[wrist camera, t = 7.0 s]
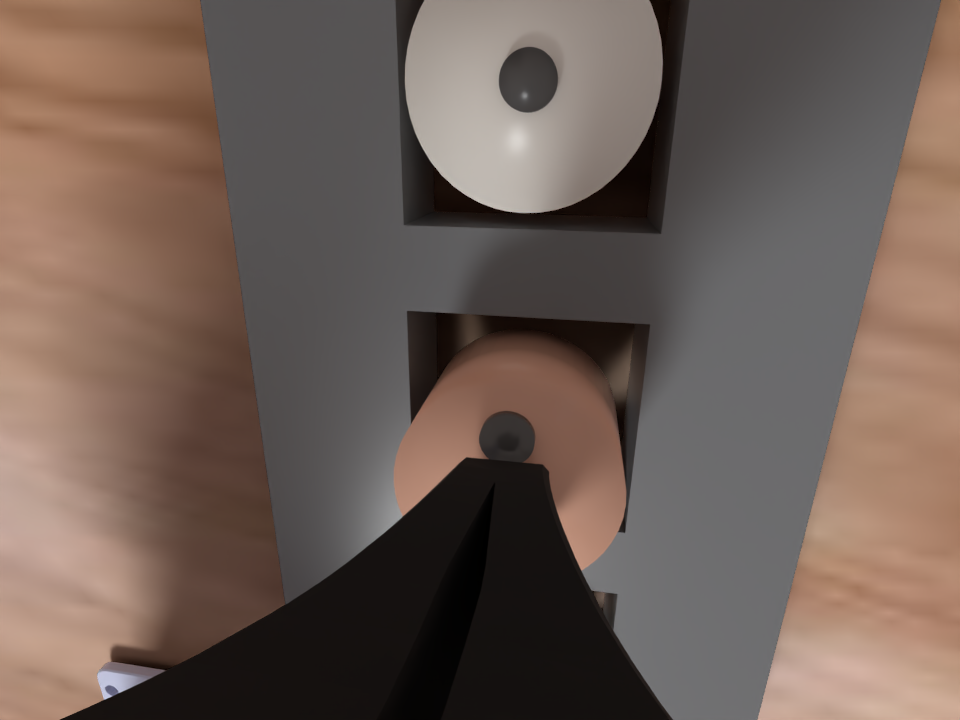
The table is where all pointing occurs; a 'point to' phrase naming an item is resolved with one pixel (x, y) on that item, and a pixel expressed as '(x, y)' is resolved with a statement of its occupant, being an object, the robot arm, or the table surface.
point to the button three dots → (524, 429)
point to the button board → (577, 294)
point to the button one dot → (532, 95)
